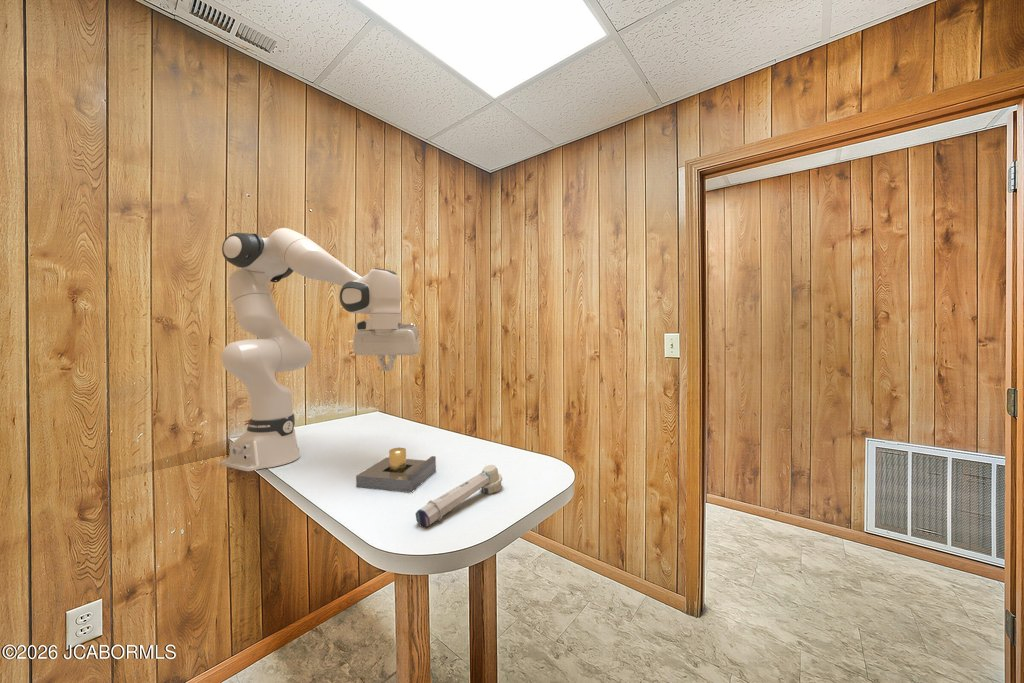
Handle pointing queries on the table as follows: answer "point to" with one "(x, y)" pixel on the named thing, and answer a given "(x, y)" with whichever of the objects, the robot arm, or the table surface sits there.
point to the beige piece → (459, 495)
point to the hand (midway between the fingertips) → (387, 370)
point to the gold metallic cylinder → (397, 460)
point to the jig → (397, 475)
